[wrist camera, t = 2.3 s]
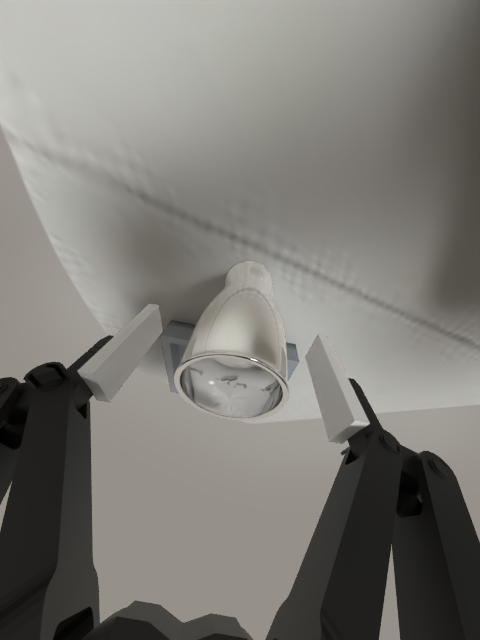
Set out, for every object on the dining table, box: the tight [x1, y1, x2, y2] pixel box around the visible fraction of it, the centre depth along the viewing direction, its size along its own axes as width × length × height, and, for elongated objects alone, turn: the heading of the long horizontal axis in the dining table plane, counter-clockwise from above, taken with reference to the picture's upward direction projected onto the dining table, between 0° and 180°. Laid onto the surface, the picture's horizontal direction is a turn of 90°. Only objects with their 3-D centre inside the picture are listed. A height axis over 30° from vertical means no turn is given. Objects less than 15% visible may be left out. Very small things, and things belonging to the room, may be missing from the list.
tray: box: [161, 321, 299, 393], centre depth 30 cm, size 20×15×4 cm
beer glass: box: [174, 261, 289, 420], centre depth 16 cm, size 7×7×15 cm
